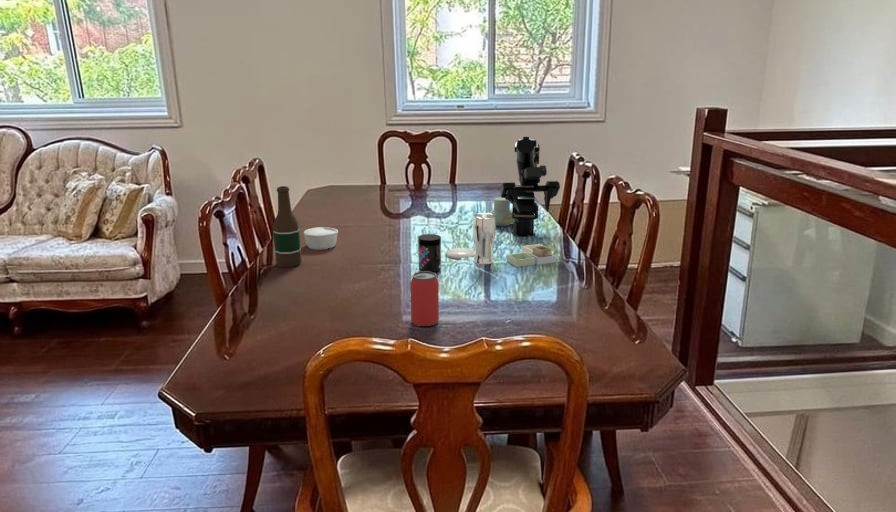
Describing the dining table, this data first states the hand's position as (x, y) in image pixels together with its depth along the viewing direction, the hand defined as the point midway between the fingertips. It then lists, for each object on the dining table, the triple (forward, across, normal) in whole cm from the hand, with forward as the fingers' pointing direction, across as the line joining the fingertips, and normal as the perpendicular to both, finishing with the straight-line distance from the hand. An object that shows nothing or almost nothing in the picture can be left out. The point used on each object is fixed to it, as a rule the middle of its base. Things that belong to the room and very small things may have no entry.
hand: (533, 211), depth 196 cm
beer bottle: (+12, -77, +7) cm, 79 cm away
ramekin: (-1, -69, +20) cm, 72 cm away
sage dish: (+18, -7, +1) cm, 19 cm away
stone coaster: (+10, -23, +9) cm, 27 cm away
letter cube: (+17, 0, +1) cm, 17 cm away
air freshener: (-15, -3, +35) cm, 39 cm away
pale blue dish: (+17, 0, +2) cm, 17 cm away
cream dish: (+12, 0, +7) cm, 14 cm away
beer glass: (+16, -18, +3) cm, 24 cm away
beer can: (+47, -39, -28) cm, 67 cm away
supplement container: (+20, -35, -1) cm, 40 cm away
